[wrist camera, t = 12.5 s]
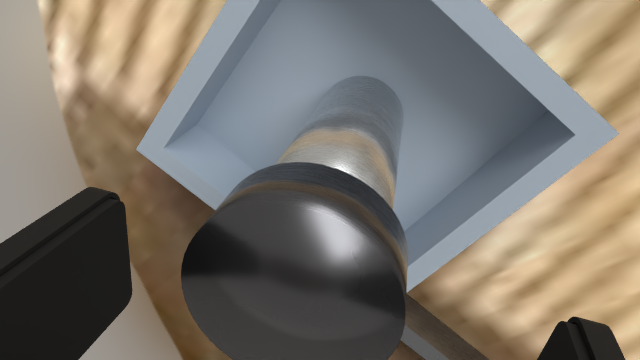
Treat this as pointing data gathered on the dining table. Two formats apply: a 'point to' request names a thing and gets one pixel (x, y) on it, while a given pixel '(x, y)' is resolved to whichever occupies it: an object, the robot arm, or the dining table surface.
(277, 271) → the black capped silver cylinder
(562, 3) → the dining table surface
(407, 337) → the socket collar
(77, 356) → the robot arm
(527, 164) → the bin
